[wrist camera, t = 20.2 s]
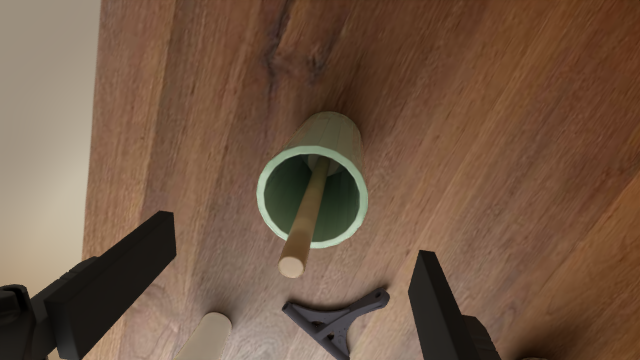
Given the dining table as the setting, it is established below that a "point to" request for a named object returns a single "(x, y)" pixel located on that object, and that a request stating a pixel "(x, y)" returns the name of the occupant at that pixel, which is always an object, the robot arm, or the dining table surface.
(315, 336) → the bracket
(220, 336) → the drinking glass
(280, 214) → the vase
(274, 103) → the dining table surface
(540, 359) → the decorative egg
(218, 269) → the dining table surface
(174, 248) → the robot arm
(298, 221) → the bottle brush
